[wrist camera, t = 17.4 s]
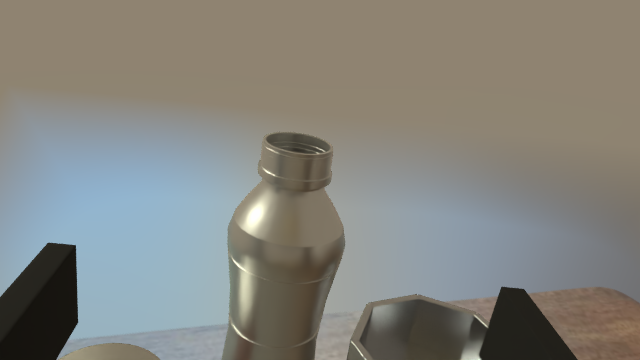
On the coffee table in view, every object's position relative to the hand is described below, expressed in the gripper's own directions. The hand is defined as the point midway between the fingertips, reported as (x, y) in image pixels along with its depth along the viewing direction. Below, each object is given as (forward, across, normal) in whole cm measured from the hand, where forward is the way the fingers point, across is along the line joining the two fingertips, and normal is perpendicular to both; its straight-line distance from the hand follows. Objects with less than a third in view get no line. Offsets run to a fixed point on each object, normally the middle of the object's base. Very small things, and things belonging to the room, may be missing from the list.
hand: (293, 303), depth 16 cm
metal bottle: (+12, 0, -19) cm, 22 cm away
